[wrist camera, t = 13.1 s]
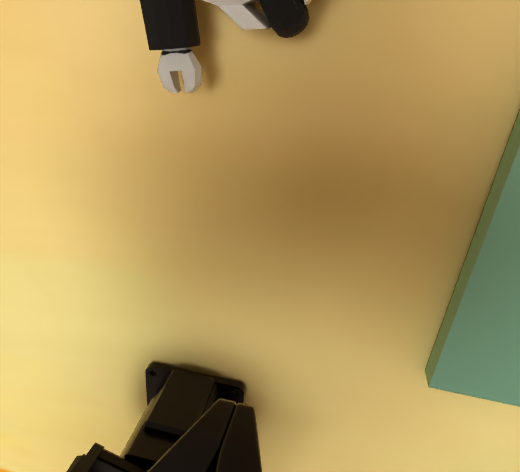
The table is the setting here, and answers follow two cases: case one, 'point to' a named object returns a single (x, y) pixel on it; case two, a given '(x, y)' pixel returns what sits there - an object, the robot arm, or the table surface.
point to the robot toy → (187, 33)
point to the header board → (486, 299)
